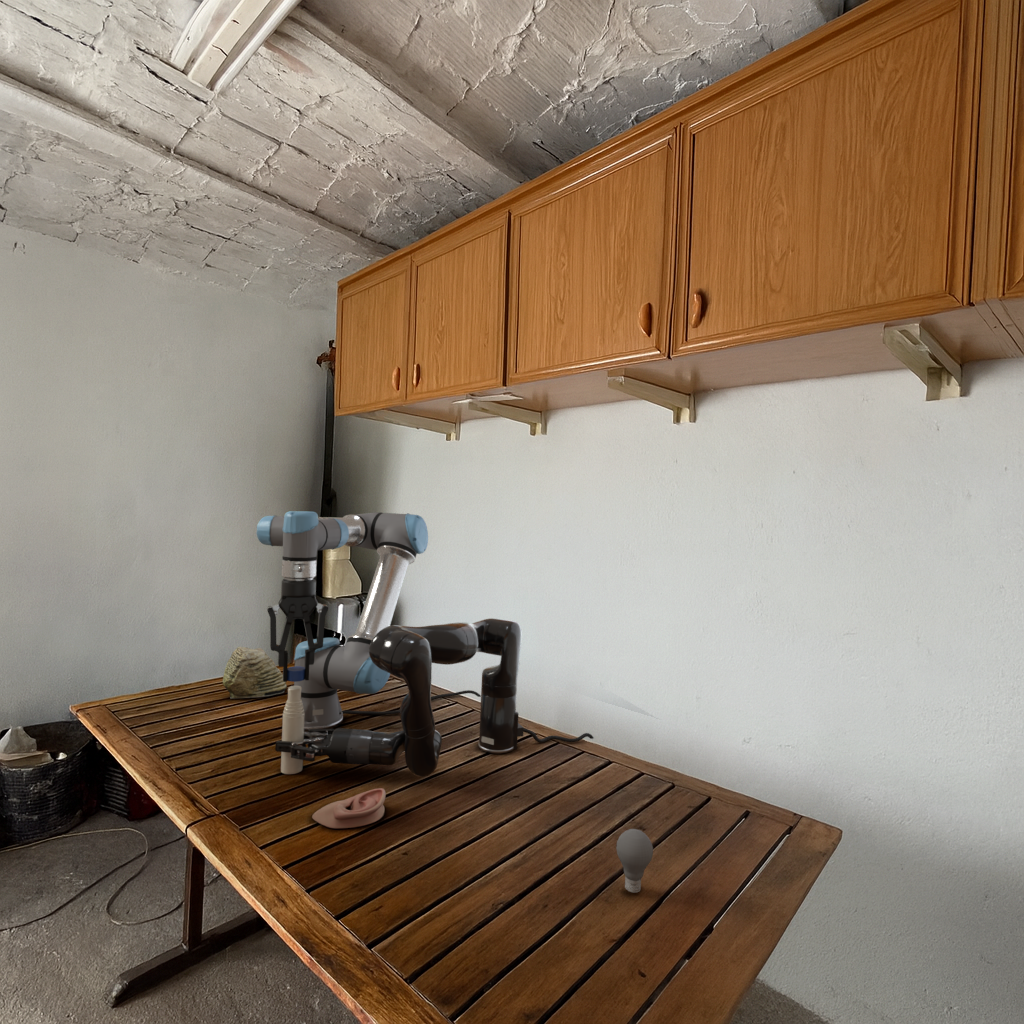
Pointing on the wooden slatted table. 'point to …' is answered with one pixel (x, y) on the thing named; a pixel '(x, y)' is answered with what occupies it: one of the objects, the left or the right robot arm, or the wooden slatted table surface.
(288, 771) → the bottle
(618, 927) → the wooden slatted table surface
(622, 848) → the light bulb
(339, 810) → the anatomical model
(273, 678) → the fossil
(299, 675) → the cap
